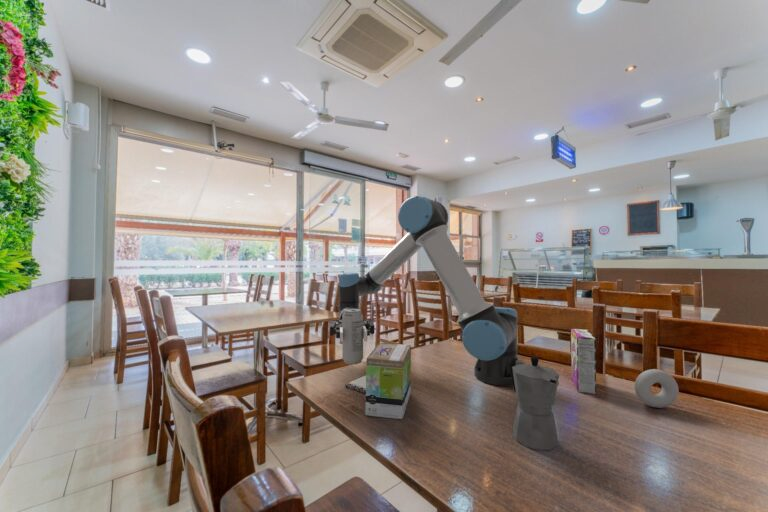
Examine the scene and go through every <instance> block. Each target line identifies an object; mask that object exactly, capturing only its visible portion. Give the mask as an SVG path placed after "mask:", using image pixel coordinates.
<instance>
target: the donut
mask: <svg viewBox="0 0 768 512" xmlns="http://www.w3.org/2000/svg"><path fill="white" fill-rule="evenodd" d="M655 384H660V386H661V388H660V391H659V392H658V393H653V392H652V390H651V389H652V386H653V385H655ZM634 390H635V394H636V396H637V397H638V399H639V400H640V401H641V402H642V403H643V404H644V405H647V406H649V407H651V408H655V407H657V409H664V408H667V407H669V406H671V405H673V404H674V403H675V402H676V401H677V398H678V396H679V391H680V390H679V385H678V383H677V381H676V379H675V378H674V377H673V376H672V375H671V374H670V373H668V372H667V371H664V370H663V369H662V370H661V369H657V368H652V369H646V370H644V371H643V372H641V373H640V374H639V375H638V376H637V377H636V379H635V382H634Z"/></svg>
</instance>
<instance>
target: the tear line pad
mask: <svg viewBox="0 0 768 512" xmlns="http://www.w3.org/2000/svg"><path fill="white" fill-rule="evenodd" d="M349 384H351V385H349ZM353 385H354V386H353ZM345 386H347V387H348V386H349V387H348V388H352V389H351V390H354V389H353V388H355V391H356V390H357V391H356V392H360V391H361V393H362V392H363V393H362V394H366V393H365V392H366V390H365V389H366V374H365V375H363V376H361V377H359V378H356V379H355V380H352V381H350V382H349V383H347V382H346V383H345V384H344V387H345ZM355 386H356V387H355ZM347 387H346V388H347ZM359 387H360V388H359ZM361 388H363V389H361ZM359 390H360V391H359Z"/></svg>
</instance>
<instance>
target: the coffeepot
mask: <svg viewBox="0 0 768 512" xmlns="http://www.w3.org/2000/svg"><path fill="white" fill-rule="evenodd" d="M518 359H519V358H518ZM518 359H517V358H513V359H512V360H511V361H510V362H509V368H510V372H511V378H512V383H513V386H512V387H513V392H514V393H515V395H516V398H517V400H518V403H517V405H516V408H515V409H516V410H515V416H514V419H513V424H512V430H511V431H512V435H513V438H515V440H516V441H517V442H518V443H519V444H521V445H522V446H524V447H527V448H529V449H532V450H534V451H535V450H537V451H551V450H554V449H555V448H556V447H557V446H558V445H559V443H560V442H559V439H558V433H557V426H556V422H555V416H554V413H553V408H552V407H553V406H554V405H555V401H556V396H557V391H558V386H559V384H560V382H559V378H560V374H559V373H558V372H557V371H556V370H555V369H554V368H552V367H547V366H543V365H540V364H539V360H540V359H539V357H536V356H530V362H531V363H526V361H524V360H522V359H519V360H518Z"/></svg>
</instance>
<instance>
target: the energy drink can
mask: <svg viewBox="0 0 768 512" xmlns="http://www.w3.org/2000/svg"><path fill="white" fill-rule="evenodd" d="M344 311H345V312H344V314H343V316H342V328H343V342H341V343H342V346H341V348H342V349H341V350H342V360H343V361H344V363H345V364H346V365H357V364H360V363H362V360H363V359H364V338H363V320H364V315H363V313H362V310H361V308H359V309H346V310H344Z"/></svg>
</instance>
